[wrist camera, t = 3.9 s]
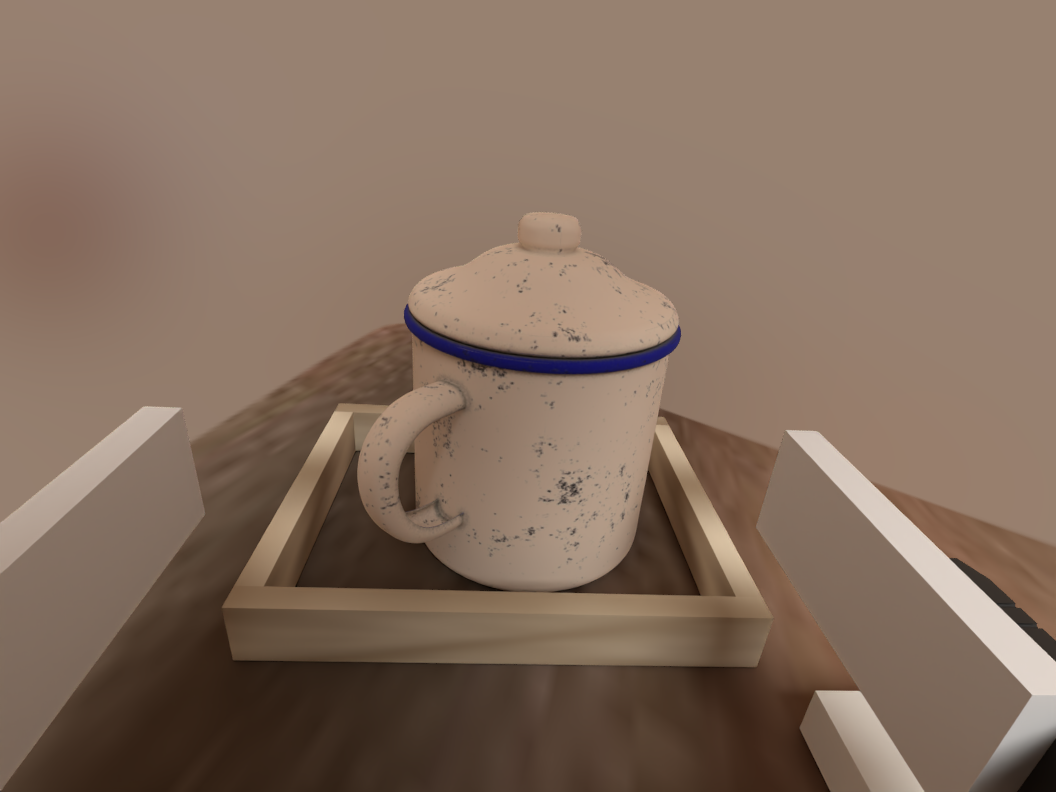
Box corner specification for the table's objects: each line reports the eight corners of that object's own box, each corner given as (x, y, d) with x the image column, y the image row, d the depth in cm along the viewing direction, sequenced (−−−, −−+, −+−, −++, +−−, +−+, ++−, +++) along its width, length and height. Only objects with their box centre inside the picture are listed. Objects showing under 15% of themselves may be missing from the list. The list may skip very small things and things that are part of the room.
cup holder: (756, 667, 17) (773, 618, 16) (232, 660, 16) (221, 607, 15) (657, 453, 28) (664, 417, 27) (342, 441, 27) (339, 403, 26)
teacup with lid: (510, 437, 29) (526, 191, 23) (679, 514, 24) (744, 226, 19) (290, 560, 20) (239, 211, 15) (486, 723, 15) (511, 287, 10)
